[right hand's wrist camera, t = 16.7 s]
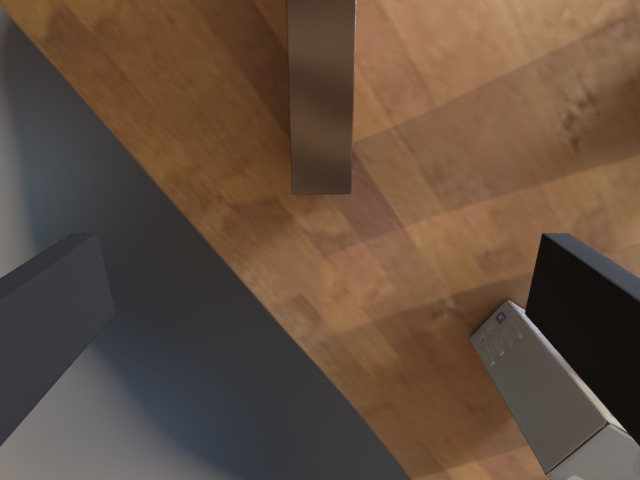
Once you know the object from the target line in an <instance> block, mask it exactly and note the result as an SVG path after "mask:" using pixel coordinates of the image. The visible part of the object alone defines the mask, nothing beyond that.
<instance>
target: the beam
mask: <svg viewBox="0 0 640 480" xmlns="http://www.w3.org/2000/svg"><path fill="white" fill-rule="evenodd" d="M286 4H287V40H288V76H289V111H290V147H291V183H292V194H351V178H352V142H353V106H354V69H355V33H356V0H286Z"/></svg>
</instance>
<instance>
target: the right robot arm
mask: <svg viewBox="0 0 640 480" xmlns="http://www.w3.org/2000/svg"><path fill="white" fill-rule="evenodd" d="M114 315H115V310H114V306H113V301H112V297H111V292H110V287H109V283H108V278H107V274H106V269H105V264H104V260H103V255H102V251H101V246H100V241H99V237H98V234H97V233H72V234H70V235H69V236H67V237H65V238H64V239H62V240H61V241H59V242H57V243H56V244H54V245H53V246H51V247H49V248H48V249H46V250H45V251H43V252H42V253H40V254H38V255H37V256H35V257H34V258H32V259H30V260H29V261H27V262H26V263H24V264H22V265H21V266H19V267H18V268H16V269H14V270H13V271H11V272H10V273H8V274H7V275H5V276H3V277H2V278H0V446H1V445H2V444H3V443H4V442H5V441H6V439H7V438H8V437H9V436H10V435H11V434H12V432H13V431H14V430H15V429H16V428H17V427H18V426H19V424H20V423H21V422H22V421H23V420H24V419H25V417H26V416H27V415H28V414H29V413H30V412H31V411H32V409H33V408H34V407H35V406H36V405H37V404H38V402H39V401H40V400H41V399H42V398H43V397H44V395H45V394H46V393H47V392H48V391H49V390H50V389H51V387H52V386H53V385H54V384H55V383H56V382H57V380H58V379H59V378H60V377H61V376H62V375H63V374H64V372H65V371H66V370H67V369H68V368H69V367H70V365H71V364H72V363H73V362H74V361H75V360H76V359H77V357H78V356H79V355H80V354H81V353H82V352H83V350H84V349H85V348H86V347H87V346H88V345H89V344H90V342H91V341H92V340H93V339H94V338H95V337H96V335H97V334H98V333H99V332H100V331H101V330H102V329H103V327H104V326H105V325H106V324H107V323H108V322H109V320H110V319H111V318H112V317H113V316H114ZM525 315H526V316H527V317H528V318H529V319H530V320H531V322H532V323H533V324H534V325H535V326H536V327H537V329H538V330H539V331H540V332H541V333H542V334H543V335H544V337H545V338H546V339H547V340H548V341H549V342H550V344H551V345H552V346H553V347H554V348H555V349H556V350H557V352H558V353H559V354H560V355H561V356H562V357H563V359H564V360H565V361H566V362H567V363H568V364H569V365H570V367H571V368H572V369H573V370H574V371H575V372H576V374H577V375H578V376H579V377H580V378H581V379H582V381H583V382H584V383H585V384H586V385H587V386H588V387H589V389H590V390H591V391H592V392H593V393H594V394H595V396H596V397H597V398H598V399H599V400H600V401H601V402H602V404H603V405H604V406H605V407H606V408H607V409H608V411H609V412H610V413H611V414H612V415H613V416H614V417H615V419H616V420H617V421H618V422H619V423H620V424H621V426H622V427H623V428H624V429H625V430H626V431H627V432H628V434H629V435H630V436H631V437H632V438H633V439H634V441H635V442H636V443H637V444H638V445H639V446H640V278H638V277H637V276H635V275H633V274H632V273H630V272H629V271H627V270H625V269H624V268H622V267H621V266H619V265H618V264H616V263H614V262H613V261H611V260H610V259H608V258H606V257H605V256H603V255H602V254H600V253H598V252H597V251H595V250H594V249H592V248H591V247H589V246H587V245H586V244H584V243H583V242H581V241H579V240H578V239H576V238H575V237H573V236H571V235H570V234H568V233H542V237H541V241H540V246H539V251H538V255H537V260H536V264H535V269H534V274H533V278H532V283H531V287H530V292H529V297H528V301H527V306H526V310H525Z"/></svg>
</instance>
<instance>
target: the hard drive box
mask: <svg viewBox="0 0 640 480" xmlns="http://www.w3.org/2000/svg"><path fill="white" fill-rule="evenodd" d="M469 340H470V342H471V343H472V345H473V347H474V349H475V351H476V353H477V354H478V356H479V358H480V359H481V361H482V363H483V365H484V367H485V368H486V370H487V372H488V374H489V375H490V377H491V379H492V381H493V382H494V384H495V386H496V388H497V389H498V391H499V393H500V395H501V396H502V398H503V400H504V402H505V403H506V405H507V407H508V409H509V411H510V412H511V414H512V416H513V418H514V419H515V421H516V423H517V425H518V426H519V428H520V430H521V432H522V433H523V435H524V437H525V439H526V440H527V442H528V444H529V446H530V447H531V449H532V451H533V453H534V455H535V456H536V458H537V460H538V462H539V464H540V465H541V467H542V469H543V471H544V472H545V476H546V477H548V478H550V479H552V480H640V446H639V445H638V444H637V443H636V442H635V441H634V439H633V438H632V437H631V436H630V435H629V434H628V432H627V431H626V430H625V429H624V428H623V427H622V426H621V424H620V423H619V422H618V421H617V420H616V419H615V417H614V416H613V415H612V414H611V413H610V412H609V411H608V409H607V408H606V407H605V406H604V405H603V404H602V402H601V401H600V400H599V399H598V398H597V397H596V396H595V394H594V393H593V392H592V391H591V390H590V389H589V387H588V386H587V385H586V384H585V383H584V382H583V381H582V379H581V378H580V377H579V376H578V375H577V374H576V372H575V371H574V370H573V369H572V368H571V367H570V365H569V364H568V363H567V362H566V361H565V360H564V359H563V357H562V356H561V355H560V354H559V353H558V352H557V350H556V349H555V348H554V347H553V346H552V345H551V344H550V342H549V341H548V340H547V339H546V338H545V337H544V335H543V334H542V333H541V332H540V331H539V330H538V329H537V327H536V326H535V325H534V324H533V323H532V322H531V320H530V319H529V318H528V317H527V316H526V315H525V310H524V309H522V308H520V307H519V306H517V305H516V304H515V303H513V302H511V301H510V300H508V301H505V302H504V303H503V304H502V305H501V306H500V307H499V308H498V309H497V310H496V311H495V312H494V313H493V314H492V315H491V316H490V317H489V319H488V320H487V321H486V322H485V323H484V324H483V325H482V326H481V327H480V328H479V329H478V330H477V331H476V332H475V333H474V334H473V335H472V336H471V337H470V339H469Z"/></svg>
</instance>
